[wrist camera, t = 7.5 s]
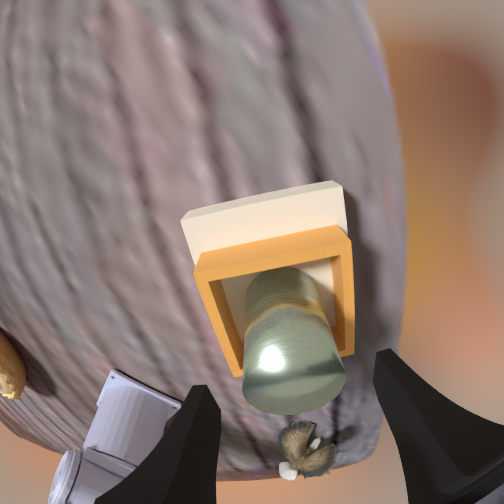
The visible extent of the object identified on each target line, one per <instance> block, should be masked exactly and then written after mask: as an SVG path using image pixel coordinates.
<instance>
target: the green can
mask: <svg viewBox="0 0 504 504" xmlns="http://www.w3.org/2000/svg"><path fill="white" fill-rule="evenodd" d="M345 381H346V373H345V370H344V367H343V364H342V361H341V358H340V354H339V351H338V348H337V346H336V343H335V340H334V337H333V334H332V331H331V328H330V325H329V322H328V319H327V317H326V314H325V311H324V308H323V305H322V303H321V300H320V297H319V294H318V292H317V289H316V286H315V284H314V282H313V280H312V279H311V278H310V277H309V276H308V275H307V274H306V273H305V272H303V271H301V270H299V269H296V268H293V267H280V268H275V269H270V270H266V271H264V272H262V273H260V274H259V275H258V276H256V277H255V278H254V279H253V280H252V282H251V283H250V285H249V287H248V289H247V292H246V306H245V332H244V358H243V386H242V391H243V395H244V397H245V399H246V400H247V401H248V402H249V403H250V404H251V405H252V406H254V407H255V408H257V409H259V410H261V411H264V412H268V413H272V414H280V415H291V414H299V413H305V412H308V411H312V410H314V409H317V408H319V407H321V406H323V405H325V404H327V403H328V402H330V401H331V400H333V399H334V398H335V397H336V396H337V395H338V394H339V393H340V392H341V390H342V389H343V387H344V384H345Z"/></svg>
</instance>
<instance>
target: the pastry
mask: <svg viewBox="0 0 504 504" xmlns="http://www.w3.org/2000/svg"><path fill="white" fill-rule="evenodd" d="M25 382H26V367H25V364H24V361H23V359H22V358H21V356H20V354H19V352H18V351H17V349H16V348H15V347H14V345H13V344H12V343H11V341H10V340H9V339H8V338H7V337H6V335H5V334H4V333H3V332H2V331H1V330H0V393H1V394H2V395H3V396H4V397H8V399H18V398H19V397H20V396H21V393H22V391H23V390H24V387H25Z"/></svg>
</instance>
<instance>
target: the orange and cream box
mask: <svg viewBox="0 0 504 504" xmlns="http://www.w3.org/2000/svg"><path fill="white" fill-rule="evenodd" d="M181 224H182V227H183V230H184V233H185V237H186V240H187V243H188V246H189V249H190V252H191V255H192V258H193V261H194V264H195V270H194V272H193V275H194V278H195V280H196V283H197V286H198V289H199V291H200V294H201V297H202V299H203V302H204V305H205V307H206V310H207V313H208V315H209V318H210V320H211V323H212V325H213V328H214V331H215V333H216V336H217V338H218V340H219V343H220V345H221V348H222V350H223V353H224V355H225V357H226V360H227V362H228V365H229V367H230V369H231V372H232V374H233V376H234V377H239V376H243V358H244V332H245V306H246V292H247V289H248V287H249V285H250V283H251V282H252V280H253V279H254V278H255V277H256V276H258V275H259V274H260V273H262V272H264V271H266V270H270V269H275V268H280V267H293V268H296V269H299V270H301V271H303V272H305V273H306V274H307V275H308V276H309V277H310V278H311V279H312V280H313V282H314V284H315V286H316V289H317V292H318V294H319V297H320V300H321V303H322V305H323V308H324V311H325V314H326V317H327V319H328V322H329V325H330V328H331V331H332V334H333V337H334V340H335V343H336V346H337V348H338V351H339V354H340V358H341V357H345V356H349V355H353V354H354V347H355V306H354V277H353V260H352V246H351V240H350V239H349V238H348V231H347V221H346V212H345V204H344V196H343V188H342V186H341V185H339V184H338V183H336V182H334V181H333V180H330V181H325V182H319V183H314V184H308V185H303V186H298V187H293V188H288V189H283V190H278V191H273V192H268V193H263V194H259V195H254V196H249V197H245V198H240V199H236V200H232V201H227V202H223V203H219V204H215V205H210V206H206V207H202V208H198V209H194V210H190V211H188V212H187V213H186V214H185V216H184V217H183V218H182V219H181Z"/></svg>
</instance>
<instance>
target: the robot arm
mask: <svg viewBox="0 0 504 504" xmlns="http://www.w3.org/2000/svg"><path fill="white" fill-rule="evenodd" d="M373 383H374V387H375V390H376V394H377V397H378V400H379V403H380V405H381V408H382V410H383V412H384V415H385V417H386V419H387V421H388V424H389V426H390V429H391V431H392V433H393V436H394V438H395V441H396V444H397V446H398V450H399V454H400V458H401V462H402V467H403V471H404V475H405V481H406V487H407V493H408V502H409V504H504V425H501V424H497V423H494V422H492V421H489V420H487V419H484V418H482V417H480V416H478V415H476V414H473V413H472V412H470V411H467V410H466V409H464V408H462V407H460V406H459V405H457V404H455V403H454V402H452V401H451V400H449V399H448V398H446V397H445V396H443V395H442V394H441V393H439V392H438V391H437V390H436V389H434V388H433V387H432V386H430V385H429V384H428V383H427V382H425V381H424V380H423V379H422V378H421V377H420V376H419V375H418V374H416V373H415V372H414V371H413V370H412V369H411V368H410V367H409V366H408V365H407V364H406V363H405V362H404V361H403V360H402V359H400V357H399V356H398V355H397V354H396V353H395V352H394V351H393V350H392V349H390V348H389V349H386V350H383V351H379V352H376V361H375V370H374V377H373ZM97 406H98V407H99V408H98V410H97V413H96V415H95V417H94V420H93V422H92V425H91V427H90V430H89V432H88V435H87V437H86V440H85V442H84V445H83V447H82V450H80V451H78V450H77V449H72V450H68V451H66V453H65V454H64V456H63V457H62V460H61V461H60V464H59V466H58V468H57V471H56V474H55V476H54V479H53V483H52V487H51V492H50V495H49V498H48V504H216V469H217V461H218V452H219V444H220V435H221V410H220V408H219V406H218V404H217V403H216V401H215V399H214V397H213V396H212V394H211V392H210V390H209V389H208V387H207V385H194V386H192V388H191V389H190V391H189V393H188V395H187V397H186V399H185V400H184V402H183V404H181V403H180V402H179V401H176V400H174V399H172V398H170V397H167V396H165V395H163V394H161V393H159V392H157V391H155V390H152V389H150V388H148V387H146V386H144V385H142V384H140V383H139V382H137V381H135V380H133V379H131V378H129V377H127V376H125V375H124V374H122V373H120V372H118V371H116V370H111V372H110V374H109V376H108V378H107V381H106V383H105V385H104V387H103V390H102V392H101V394H100V397H99V399H98V402H97ZM178 410H179V411H178ZM177 411H178V413H177V414H176V416H175V418H174V419H173V421H172V423H171V424H170V426H169V428H168V429H167V431H166V432H165V433H164V435H163V431H164V427H165V423H166V421H168V420H169V419H170V418H171V417H172V416H173V415H174V414H175V413H176V412H177Z"/></svg>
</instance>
